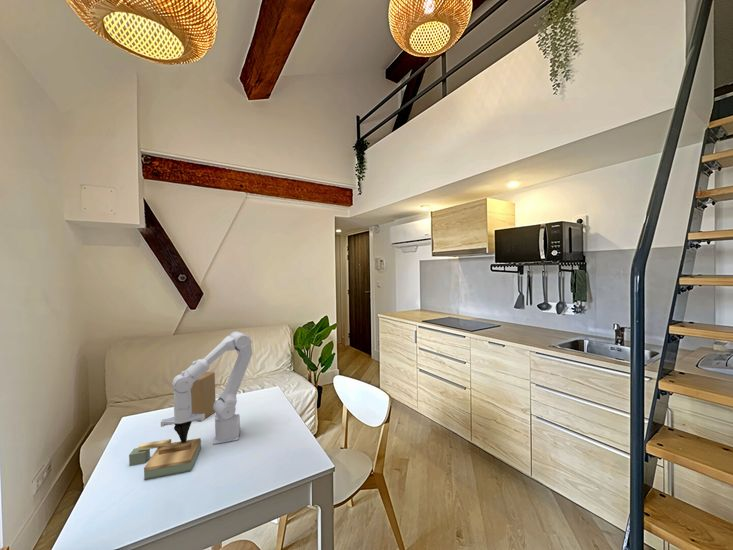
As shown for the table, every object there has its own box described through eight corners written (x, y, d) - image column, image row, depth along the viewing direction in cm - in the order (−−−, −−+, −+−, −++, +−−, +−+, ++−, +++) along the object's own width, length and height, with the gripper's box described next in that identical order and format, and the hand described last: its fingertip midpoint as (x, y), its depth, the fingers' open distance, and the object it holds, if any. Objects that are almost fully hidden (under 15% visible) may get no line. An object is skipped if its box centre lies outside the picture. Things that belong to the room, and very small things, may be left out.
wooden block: (199, 410, 150) (197, 370, 150) (216, 411, 148) (215, 371, 148) (183, 420, 140) (181, 378, 140) (201, 421, 138) (200, 379, 138)
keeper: (150, 456, 113) (149, 446, 113) (145, 462, 109) (145, 452, 109) (134, 459, 111) (134, 448, 111) (129, 465, 107) (129, 455, 107)
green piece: (201, 448, 117) (200, 440, 117) (191, 471, 104) (190, 462, 104) (160, 455, 113) (159, 447, 113) (144, 480, 100) (144, 471, 100)
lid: (200, 440, 117) (200, 434, 117) (190, 462, 104) (190, 455, 104) (159, 447, 113) (159, 440, 113) (144, 471, 100) (143, 463, 100)
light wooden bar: (171, 442, 114) (171, 438, 114) (169, 445, 112) (169, 441, 112) (140, 447, 111) (140, 443, 111) (138, 450, 109) (138, 446, 109)
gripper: (206, 399, 120) (207, 432, 120) (164, 404, 116) (166, 438, 116) (201, 406, 113) (203, 441, 113) (158, 413, 109) (159, 449, 109)
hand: (184, 441), depth 114 cm, fingers closed
